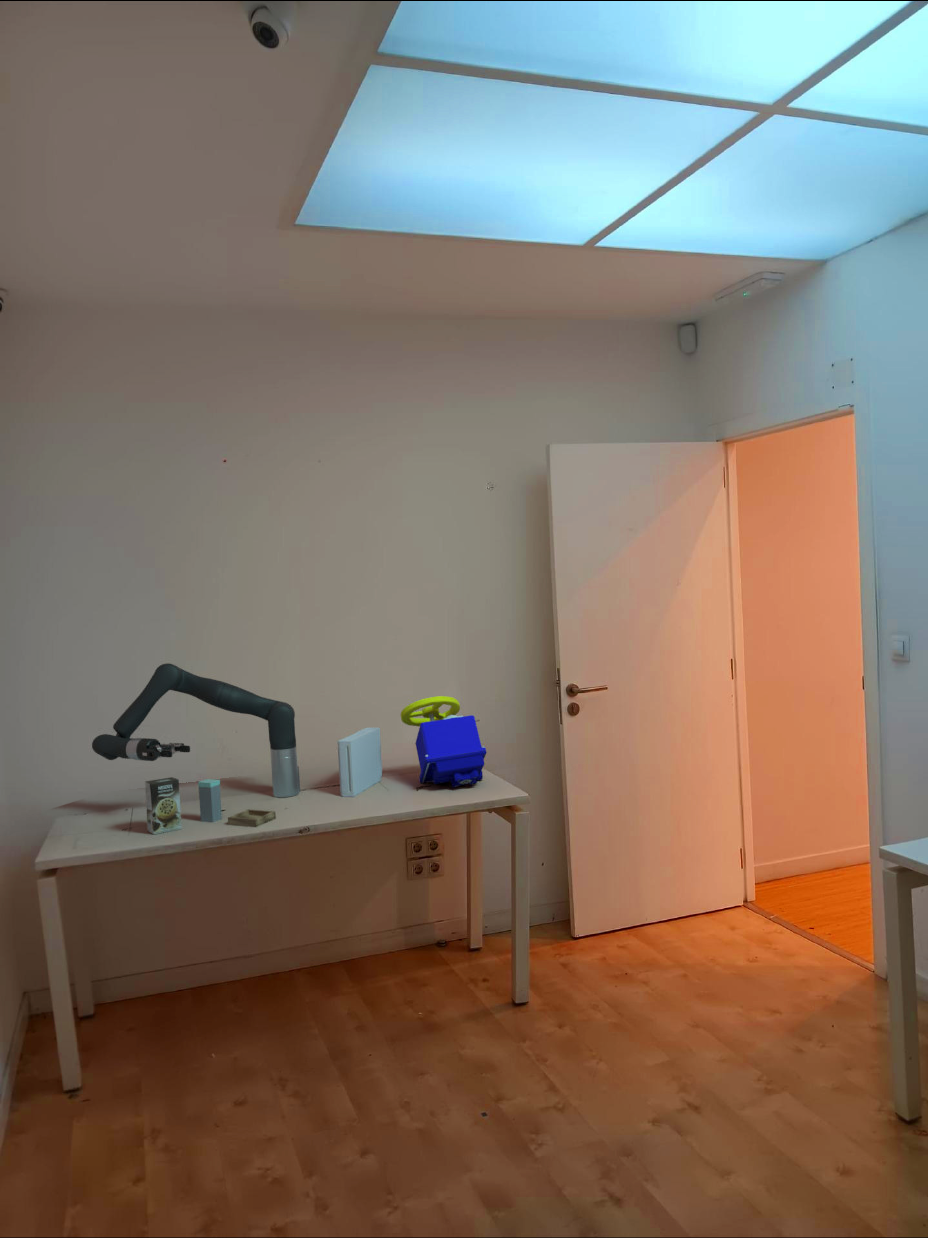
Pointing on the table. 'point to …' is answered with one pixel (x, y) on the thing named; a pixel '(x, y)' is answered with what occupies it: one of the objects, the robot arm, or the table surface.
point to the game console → (359, 761)
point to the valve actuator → (446, 742)
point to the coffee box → (163, 805)
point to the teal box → (210, 800)
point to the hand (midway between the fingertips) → (180, 751)
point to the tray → (251, 818)
